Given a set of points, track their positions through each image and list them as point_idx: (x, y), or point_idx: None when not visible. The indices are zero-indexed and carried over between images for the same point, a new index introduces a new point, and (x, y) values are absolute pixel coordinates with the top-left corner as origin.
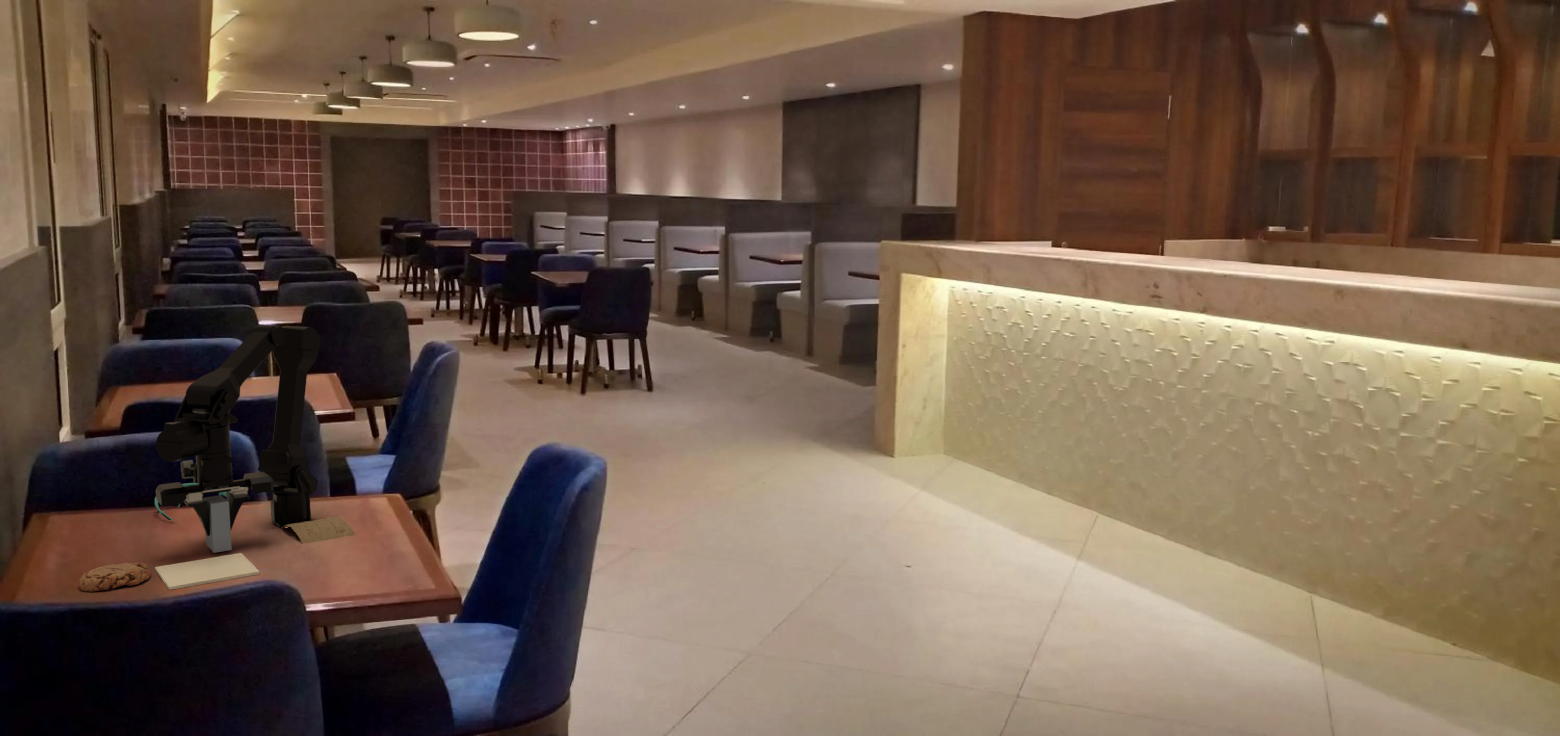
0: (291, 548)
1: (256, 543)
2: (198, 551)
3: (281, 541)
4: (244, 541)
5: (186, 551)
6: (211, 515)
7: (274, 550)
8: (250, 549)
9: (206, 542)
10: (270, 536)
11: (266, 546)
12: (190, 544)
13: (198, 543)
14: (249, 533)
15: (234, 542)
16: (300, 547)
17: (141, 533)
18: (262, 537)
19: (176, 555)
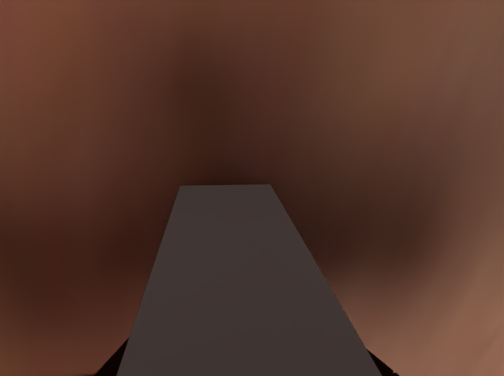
0: (454, 355)
1: (392, 225)
2: (137, 212)
3: (477, 251)
4: (365, 160)
5: (79, 178)
6: None
7: (401, 351)
8: (339, 298)
9: (178, 191)
10: (487, 143)
11: (402, 289)
12: (109, 38)
13: (155, 46)
14: (445, 7)
15: (322, 149)
16: (480, 357)
17: None
18: (454, 138)
19: (26, 223)
